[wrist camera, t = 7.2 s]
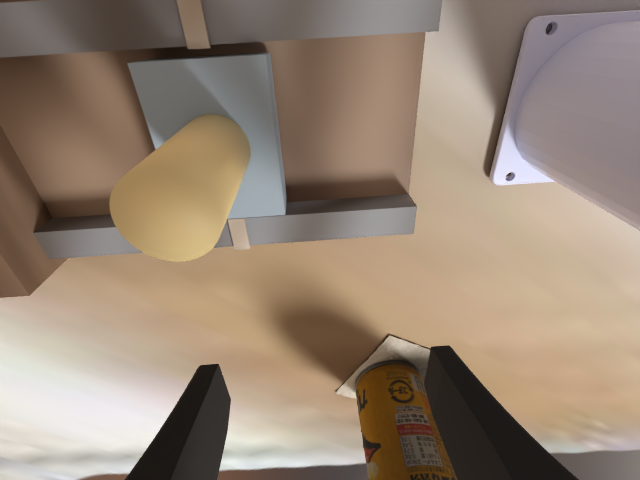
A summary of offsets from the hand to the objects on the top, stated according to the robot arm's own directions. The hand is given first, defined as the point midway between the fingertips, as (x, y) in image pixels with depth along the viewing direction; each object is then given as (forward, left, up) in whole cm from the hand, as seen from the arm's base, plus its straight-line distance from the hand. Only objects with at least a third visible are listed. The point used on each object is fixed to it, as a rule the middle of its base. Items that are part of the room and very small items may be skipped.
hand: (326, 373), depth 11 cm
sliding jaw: (+4, -6, -9) cm, 11 cm away
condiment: (-6, +16, -11) cm, 20 cm away
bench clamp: (+6, -6, -10) cm, 13 cm away
